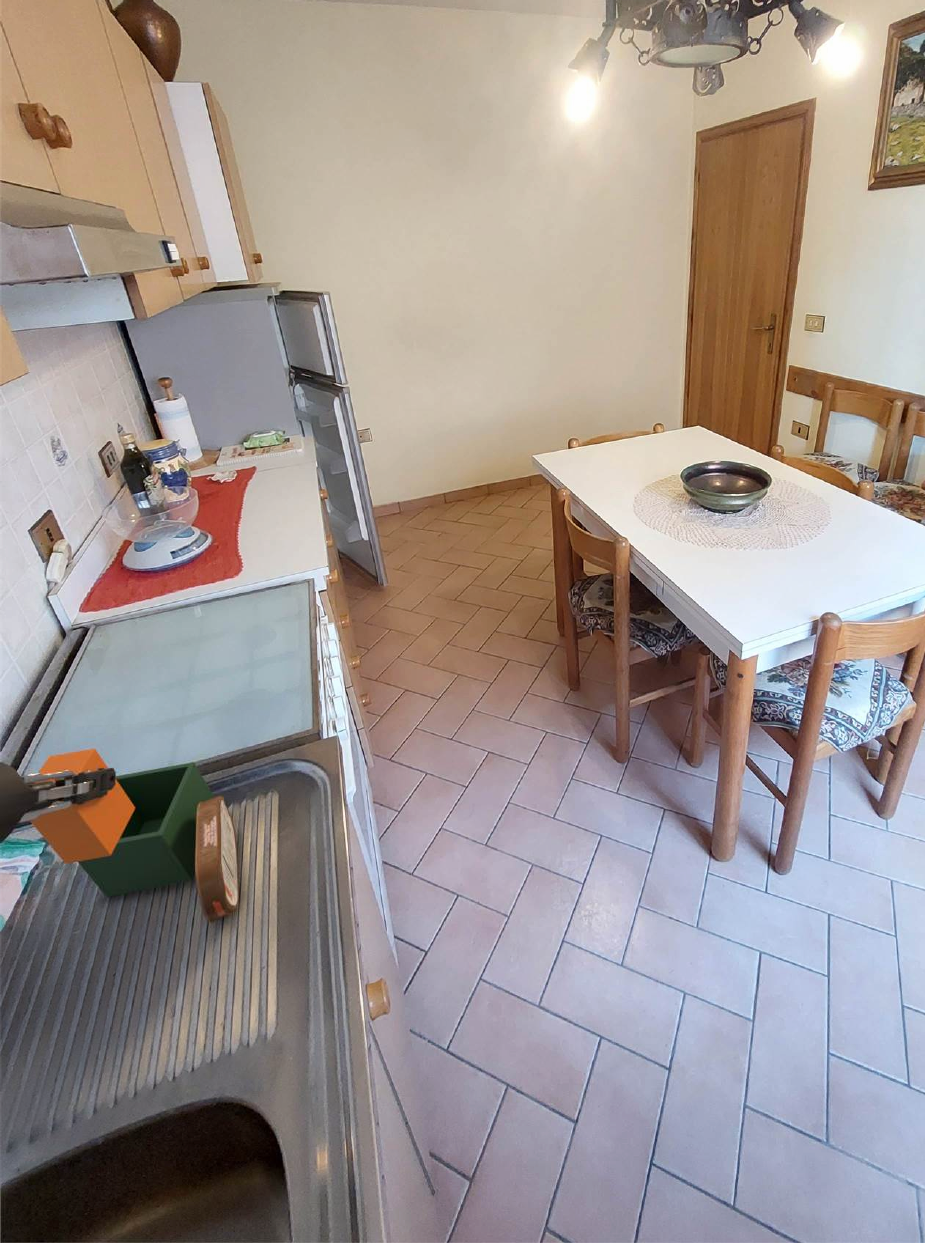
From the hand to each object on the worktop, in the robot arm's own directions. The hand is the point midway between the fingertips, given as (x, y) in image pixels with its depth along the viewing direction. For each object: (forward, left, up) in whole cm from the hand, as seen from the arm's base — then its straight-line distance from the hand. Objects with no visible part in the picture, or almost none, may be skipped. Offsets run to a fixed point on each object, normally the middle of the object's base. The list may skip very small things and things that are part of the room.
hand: (85, 783), depth 62 cm
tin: (+8, +1, -21) cm, 22 cm away
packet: (0, -2, -6) cm, 6 cm away
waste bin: (-2, +6, -21) cm, 22 cm away
